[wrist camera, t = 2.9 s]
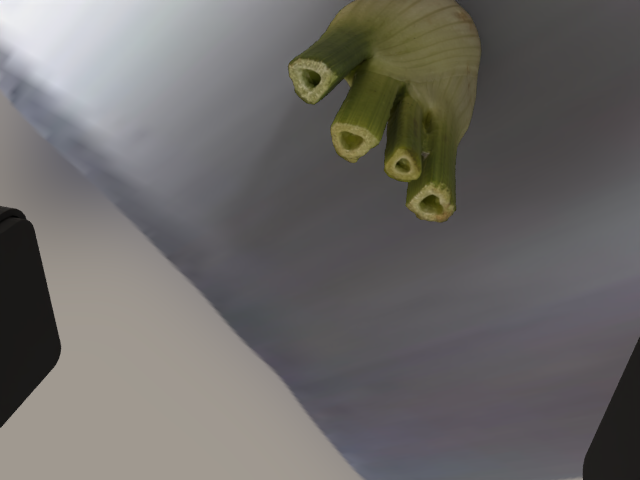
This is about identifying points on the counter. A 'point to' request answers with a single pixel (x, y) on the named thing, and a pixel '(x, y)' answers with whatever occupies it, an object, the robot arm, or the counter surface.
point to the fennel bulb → (399, 90)
